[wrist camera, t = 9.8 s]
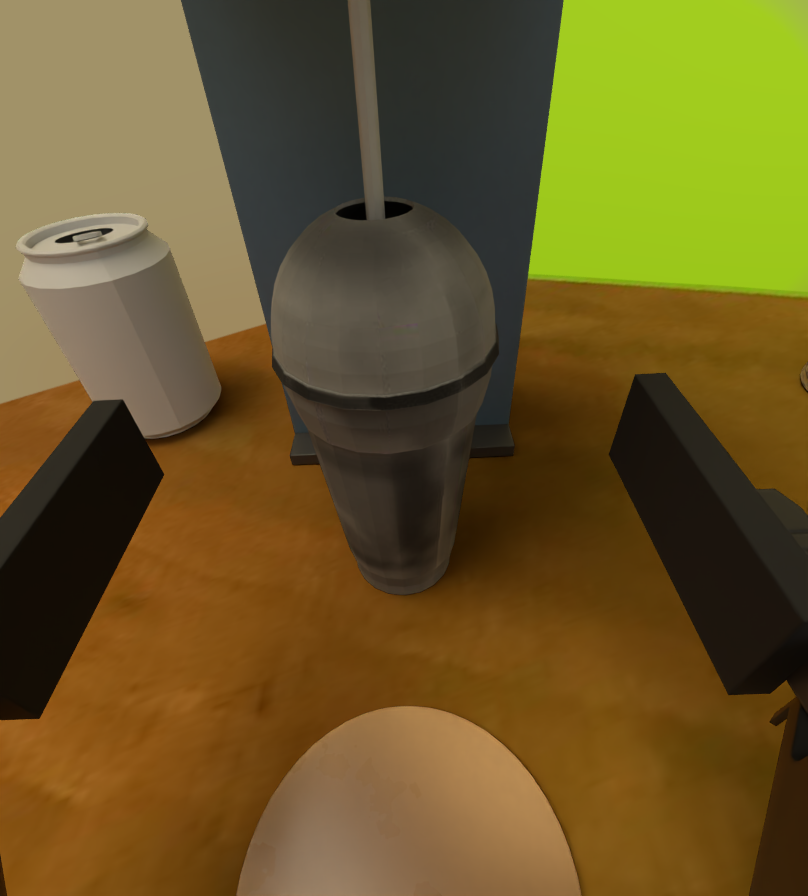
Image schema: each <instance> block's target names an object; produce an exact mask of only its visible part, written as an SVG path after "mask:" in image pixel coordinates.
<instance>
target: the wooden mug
mask: <svg viewBox="0 0 808 896" xmlns="http://www.w3.org/2000/svg"><path fill="white" fill-rule="evenodd" d="M800 377H801V382H802V384H803V386H804V387H805V388H806V389H807V391H808V362H807V363H806V364H805V366H804V367H803V369H802V371H801V374H800Z"/></svg>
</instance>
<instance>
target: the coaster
mask: <svg viewBox="0 0 808 896" xmlns="http://www.w3.org/2000/svg"><path fill="white" fill-rule="evenodd" d="M236 896H582V895H581V890H580V885H579V880H578V876H577V872H576V869H575V865H574V862H573V859H572V855H571V852H570V848H569V846H568V843H567V841H566V838H565V836H564V833H563V831H562V828H561V826H560V823H559V821H558V819H557V817H556V815H555V813H554V812H553V810H552V808H551V806H550V804H549V802H548V800H547V798H546V797H545V795H544V793H543V792H542V790H541V789H540V787H539V786H538V784H537V783H536V781H535V780H534V778H533V777H532V776H531V774H530V773H529V772H528V771H527V769H526V768H525V767H524V766H523V764H522V763H521V762H520V761H519V760H518V758H517V757H515V756H514V755H513V754H512V753H511V752H510V751H509V750H508V749H507V748H506V747H505V746H504V745H503V744H502V743H501V742H500V741H498V740H497V739H496V738H495V737H493V736H492V735H491V734H489V733H488V732H487V731H485V730H484V729H482V728H480V727H479V726H477V725H475V724H474V723H472V722H470V721H468V720H466V719H464V718H461V717H459V716H457V715H454V714H452V713H449V712H445V711H442V710H438V709H435V708H427V707H420V706H396V707H389V708H382V709H378V710H375V711H372V712H368V713H365V714H362V715H360V716H358V717H355V718H353V719H351V720H349V721H346V722H345V723H343V724H341V725H340V726H338V727H337V728H335V729H333V730H332V731H330V732H329V733H327V734H326V735H325V736H324V737H322V738H321V739H320V740H318V741H317V742H316V743H315V744H314V745H312V746H311V747H310V748H309V749H308V750H307V751H306V752H305V753H304V754H303V755H302V756H301V757H300V758H299V759H298V761H297V762H296V763H295V764H294V766H293V767H292V768H291V769H290V771H289V772H288V773H287V774H286V776H285V777H284V778H283V780H282V781H281V783H280V784H279V786H278V787H277V789H276V790H275V792H274V794H273V795H272V797H271V798H270V800H269V802H268V804H267V806H266V808H265V810H264V812H263V814H262V816H261V818H260V820H259V822H258V824H257V827H256V829H255V832H254V834H253V837H252V839H251V842H250V844H249V847H248V850H247V853H246V857H245V860H244V864H243V867H242V870H241V874H240V878H239V883H238V888H237V893H236Z"/></svg>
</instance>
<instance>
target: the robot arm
mask: <svg viewBox="0 0 808 896" xmlns="http://www.w3.org/2000/svg"><path fill="white" fill-rule="evenodd" d="M609 456H610V458H611V460H612V462H613V464H614V466H615V468H616V470H617V472H618V474H619V476H620V478H621V480H622V482H623V484H624V486H625V488H626V490H627V492H628V494H629V496H630V498H631V500H632V502H633V504H634V506H635V508H636V510H637V512H638V514H639V516H640V518H641V520H642V522H643V524H644V526H645V528H646V530H647V532H648V534H649V536H650V538H651V540H652V542H653V544H654V546H655V548H656V550H657V552H658V554H659V556H660V558H661V560H662V562H663V564H664V566H665V568H666V570H667V572H668V574H669V576H670V578H671V580H672V582H673V584H674V586H675V588H676V590H677V592H678V594H679V596H680V599H681V601H682V603H683V605H684V607H685V609H686V611H687V613H688V615H689V617H690V619H691V621H692V623H693V625H694V627H695V629H696V631H697V633H698V635H699V637H700V639H701V641H702V643H703V645H704V647H705V649H706V651H707V653H708V655H709V657H710V659H711V661H712V663H713V665H714V667H715V669H716V671H717V673H718V675H719V677H720V679H721V681H722V683H723V685H724V687H725V689H726V691H727V693H728V695H743V694H770V693H771V692H772V691H774V690H775V689H776V688H777V687H778V686H780V685H781V684H782V683H783V682H784V681H786V680H787V681H788V683H789V685H790V686H791V688H792V690H793V691H794V693H795V695H796V696H797V697H795V698H794V699H793V700H791V701H790V702H789V703H788V704H786V705H785V706H784V707H782V708H781V709H780V710H778V711H777V712H776V713H775V714H774V716H773V717H772V719H771V721H770V723H772V724H774V725H775V726H777V725H779V724H780V723H781V722H783V721H784V720H786V719H787V721H786V726H785V730H784V735H783V740H782V744H781V749H780V753H779V758H778V763H777V767H776V772H775V777H774V781H773V786H772V791H771V795H770V800H769V805H768V809H767V814H766V819H765V823H764V828H763V832H762V837H761V842H760V846H759V851H758V856H757V860H756V865H755V870H754V874H753V879H752V884H751V888H750V893H749V896H808V515H807V514H806V513H805V512H804V511H803V509H802V508H801V507H800V506H798V505H797V504H796V503H794V502H793V501H791V500H790V499H788V498H787V497H786V496H784V495H783V494H781V493H780V492H779V491H777V490H776V489H756V488H755V487H754V486H753V485H752V483H751V482H750V481H749V479H748V478H747V477H746V476H745V474H744V473H743V472H742V470H741V469H740V468H739V467H738V465H737V464H736V463H735V461H734V460H733V459H732V458H731V456H730V455H729V454H728V452H727V451H726V450H725V449H724V447H723V446H722V445H721V443H720V442H719V441H718V440H717V438H716V437H715V436H714V434H713V433H712V432H711V431H710V429H709V428H708V427H707V425H706V424H705V423H704V422H703V420H702V419H701V418H700V416H699V415H698V414H697V413H696V411H695V410H694V409H693V407H692V406H691V405H690V404H689V402H688V401H687V400H686V398H685V397H684V396H683V395H682V393H681V392H680V391H679V389H678V388H677V387H676V386H675V384H674V383H673V382H672V380H671V379H670V378H669V377H668V375H667V374H666V373H656V374H635V377H634V380H633V383H632V386H631V389H630V392H629V395H628V398H627V401H626V404H625V407H624V410H623V413H622V416H621V419H620V422H619V425H618V428H617V431H616V434H615V437H614V440H613V443H612V446H611V449H610V452H609ZM163 476H164V473H163V471H162V470H161V468H160V466H159V464H158V462H157V460H156V459H155V457H154V455H153V453H152V451H151V449H150V448H149V446H148V444H147V442H146V440H145V439H144V437H143V435H142V433H141V431H140V429H139V428H138V426H137V424H136V422H135V420H134V419H133V417H132V415H131V413H130V411H129V409H128V408H127V406H126V404H125V402H124V400H123V399H119V400H98V401H93V402H92V404H91V405H90V406H89V407H88V409H87V410H86V411H85V412H84V414H83V415H82V416H81V417H80V419H79V420H78V421H77V422H76V424H75V425H74V426H73V427H72V429H71V430H70V431H69V432H68V434H67V435H66V436H65V437H64V439H63V440H62V441H61V442H60V444H59V445H58V446H57V447H56V449H55V450H54V451H53V452H52V454H51V455H50V456H49V457H48V459H47V460H46V461H45V462H44V464H43V465H42V466H41V467H40V469H39V470H38V471H37V473H36V474H35V475H34V476H33V478H32V479H31V480H30V481H29V483H28V484H27V485H26V486H25V488H24V489H23V490H22V491H21V493H20V494H19V495H18V496H17V498H16V499H15V500H14V501H13V503H12V504H11V505H10V506H9V508H8V509H7V510H6V511H5V513H4V514H3V515H2V516H1V518H0V720H16V719H40V717H41V715H42V713H43V711H44V709H45V707H46V705H47V703H48V701H49V699H50V697H51V695H52V693H53V691H54V689H55V687H56V685H57V683H58V681H59V680H60V678H61V676H62V674H63V672H64V670H65V668H66V666H67V664H68V662H69V660H70V658H71V656H72V654H73V652H74V650H75V648H76V646H77V644H78V642H79V640H80V638H81V636H82V634H83V633H84V631H85V629H86V627H87V625H88V623H89V621H90V619H91V617H92V615H93V613H94V611H95V609H96V607H97V605H98V603H99V601H100V599H101V597H102V595H103V593H104V591H105V589H106V588H107V586H108V584H109V582H110V580H111V578H112V576H113V574H114V572H115V570H116V568H117V566H118V564H119V562H120V560H121V558H122V556H123V554H124V552H125V550H126V548H127V546H128V544H129V542H130V541H131V539H132V537H133V535H134V533H135V531H136V529H137V527H138V525H139V523H140V521H141V519H142V517H143V515H144V513H145V511H146V509H147V507H148V505H149V503H150V501H151V499H152V497H153V495H154V494H155V492H156V490H157V488H158V486H159V484H160V482H161V480H162V478H163ZM0 896H7V893H6V887H5V881H4V874H3V868H2V862H1V856H0Z"/></svg>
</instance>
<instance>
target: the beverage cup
mask: <svg viewBox="0 0 808 896" xmlns="http://www.w3.org/2000/svg"><path fill="white" fill-rule="evenodd" d="M348 10H349V22H350V33H351V45H352V56H353V68H354V79H355V91H356V102H357V114H358V125H359V137H360V148H361V160H362V171H363V182H364V194H365V198H360V199H355V200H351V201H348V202H345V203H342V204H340V205H338V206H337V207H335V208H333V209H331V210H329V211H327V212H325V213H323V214H322V215H320V216H319V217H318V218H317V219H316V220H314V221H313V222H312V223H311V224H310V225H308V226H307V228H306V229H305V230H304V231H303V232H302V233H301V235H300V236H299V237H298V238H297V240H296V241H295V242H294V243H293V245H292V246H291V247H290V249H289V250H288V252H287V254H286V256H285V258H284V260H283V262H282V263H281V265H280V268H279V271H278V274H277V277H276V280H275V283H274V290H273V297H272V306H271V339H272V344H273V349H272V368H273V369H274V371H275V372H276V374H277V376H278V377H279V379H280V380H281V382H282V383H283V385H284V387H285V389H286V391H287V393H288V395H289V397H290V399H291V401H292V402H293V404H294V406H295V408H296V410H297V412H298V414H299V416H300V417H301V419H302V420H303V422H304V424H305V425H306V427H307V429H308V432H309V435H310V438H311V440H312V443H313V446H314V449H315V452H316V454H317V457H318V460H319V463H320V466H321V468H322V471H323V474H324V477H325V480H326V482H327V485H328V488H329V491H330V494H331V496H332V499H333V502H334V505H335V508H336V510H337V513H338V516H339V519H340V522H341V524H342V527H343V530H344V533H345V536H346V538H347V541H348V544H349V547H350V549H351V551H352V553H353V555H354V557H355V559H356V560H357V562H358V567H359V569H360V571H361V573H362V575H363V577H364V578H365V579H366V580H367V581H368V582H369V583H370V584H371V585H372V586H374V587H375V588H377V589H379V590H382V591H384V592H387V593H389V594H399V595H407V594H413V593H418V592H421V591H423V590H425V589H427V588H429V587H431V586H433V585H434V584H435V583H436V582H437V581H438V580H439V579H440V578H441V577H442V576H443V575H444V573H445V571H446V569H447V567H448V564H449V558H450V554H451V550H452V547H453V545H454V541H455V535H456V530H457V524H458V518H459V512H460V507H461V501H462V495H463V490H464V484H465V478H466V472H467V467H468V461H469V455H470V450H471V444H472V438H473V432H474V427H475V421H476V415H477V412H478V410H479V408H480V406H481V405H482V402H483V399H484V396H485V393H486V390H487V387H488V383H489V380H490V377H491V371H492V365H493V364H494V362H495V360H496V359H497V357H498V355H499V335H498V329H497V325H496V324H495V306H494V299H493V293H492V288H491V285H490V282H489V278H488V275H487V272H486V270H485V268H484V266H483V264H482V262H481V260H480V258H479V256H478V254H477V253H476V252H475V250H474V249H473V248H472V246H471V245H470V244H469V242H468V241H467V240H466V238H465V237H464V236H463V235H462V234H461V233H460V231H459V230H458V229H457V228H456V227H455V226H453V225H452V224H451V223H450V222H449V221H448V220H447V219H446V218H445V217H443V216H441V215H440V214H438V213H436V212H435V211H433V210H432V209H430V208H428V207H426V206H423V205H421V204H419V203H416V202H413V201H410V200H407V199H403V198H398V197H384V192H383V178H382V164H381V149H380V135H379V121H378V106H377V92H376V78H375V63H374V49H373V34H372V20H371V6H370V0H348Z"/></svg>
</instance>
